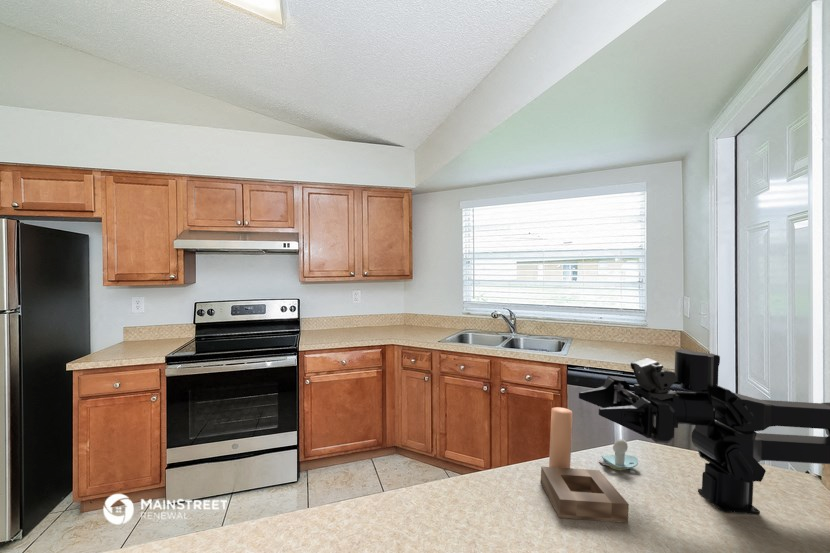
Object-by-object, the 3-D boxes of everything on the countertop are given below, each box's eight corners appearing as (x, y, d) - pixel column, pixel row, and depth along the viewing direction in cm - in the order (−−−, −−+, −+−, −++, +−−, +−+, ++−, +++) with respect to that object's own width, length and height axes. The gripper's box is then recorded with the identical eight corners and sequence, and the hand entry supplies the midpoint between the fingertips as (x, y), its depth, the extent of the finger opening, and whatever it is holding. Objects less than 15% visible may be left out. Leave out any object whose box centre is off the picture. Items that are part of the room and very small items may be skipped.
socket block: (598, 485, 74) (599, 470, 74) (627, 522, 63) (628, 504, 63) (540, 481, 74) (541, 466, 74) (559, 517, 63) (560, 499, 63)
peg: (565, 467, 80) (568, 407, 80) (572, 477, 76) (575, 414, 76) (546, 466, 81) (549, 406, 81) (552, 476, 77) (555, 413, 77)
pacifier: (592, 460, 85) (608, 473, 79) (593, 431, 85) (609, 442, 79) (623, 460, 86) (642, 473, 80) (624, 431, 86) (642, 442, 80)
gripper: (648, 353, 79) (571, 349, 80) (714, 376, 61) (613, 371, 62) (646, 407, 79) (569, 403, 80) (712, 446, 61) (610, 441, 62)
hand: (588, 403), depth 71 cm, fingers open, 9 cm apart
